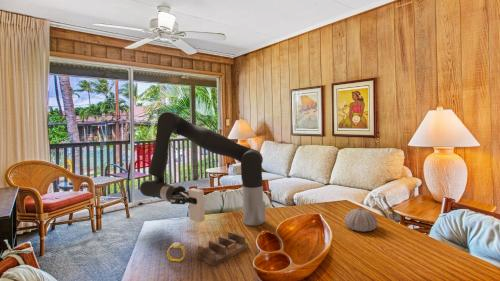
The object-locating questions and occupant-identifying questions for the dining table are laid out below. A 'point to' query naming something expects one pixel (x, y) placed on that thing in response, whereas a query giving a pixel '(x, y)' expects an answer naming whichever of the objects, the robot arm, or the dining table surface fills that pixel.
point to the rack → (222, 249)
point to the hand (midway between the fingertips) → (199, 200)
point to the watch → (176, 245)
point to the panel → (197, 205)
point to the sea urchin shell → (360, 220)
